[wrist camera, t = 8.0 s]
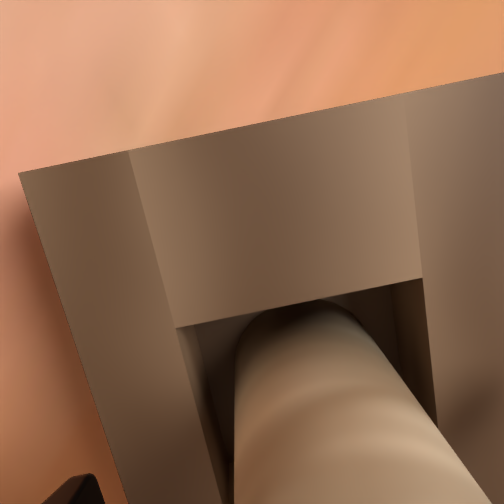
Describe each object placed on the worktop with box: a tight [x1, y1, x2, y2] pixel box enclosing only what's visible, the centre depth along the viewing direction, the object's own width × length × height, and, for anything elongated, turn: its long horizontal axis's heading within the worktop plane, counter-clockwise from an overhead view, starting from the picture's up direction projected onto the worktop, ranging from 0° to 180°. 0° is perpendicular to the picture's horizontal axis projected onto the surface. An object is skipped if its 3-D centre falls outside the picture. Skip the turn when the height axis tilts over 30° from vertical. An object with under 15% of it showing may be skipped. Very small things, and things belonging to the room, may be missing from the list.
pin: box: [234, 299, 492, 504], centre depth 7 cm, size 4×4×8 cm
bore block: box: [18, 72, 504, 504], centre depth 10 cm, size 18×12×2 cm, turn 101°
